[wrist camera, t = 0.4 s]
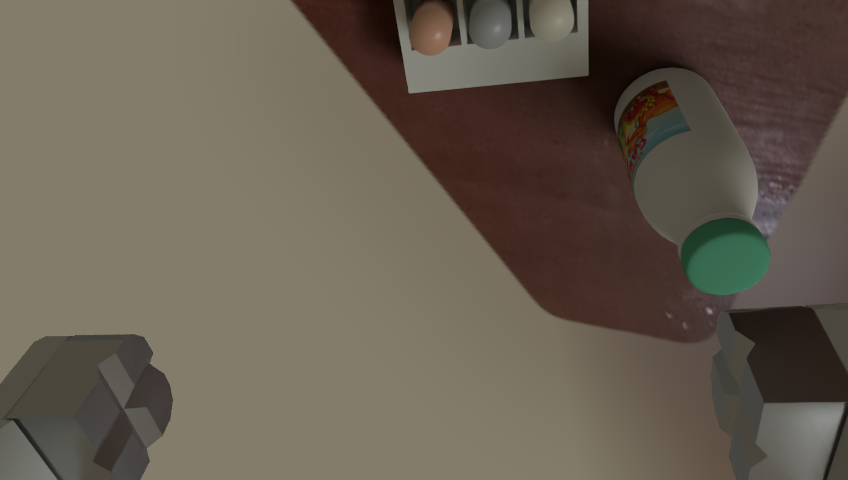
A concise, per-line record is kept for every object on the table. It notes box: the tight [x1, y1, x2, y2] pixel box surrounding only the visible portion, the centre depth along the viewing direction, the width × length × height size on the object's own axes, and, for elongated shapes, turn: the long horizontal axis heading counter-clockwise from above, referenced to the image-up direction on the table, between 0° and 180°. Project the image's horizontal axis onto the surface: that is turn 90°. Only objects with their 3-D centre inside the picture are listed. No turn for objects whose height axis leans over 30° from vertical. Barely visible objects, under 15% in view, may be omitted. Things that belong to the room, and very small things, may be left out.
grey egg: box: [469, 0, 511, 49], centre depth 46 cm, size 3×3×4 cm
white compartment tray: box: [393, 0, 589, 93], centre depth 48 cm, size 10×13×4 cm
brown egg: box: [409, 0, 455, 56], centre depth 47 cm, size 3×3×4 cm
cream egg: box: [528, 0, 574, 43], centre depth 46 cm, size 3×3×4 cm
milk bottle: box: [614, 68, 770, 295], centre depth 46 cm, size 8×8×20 cm
